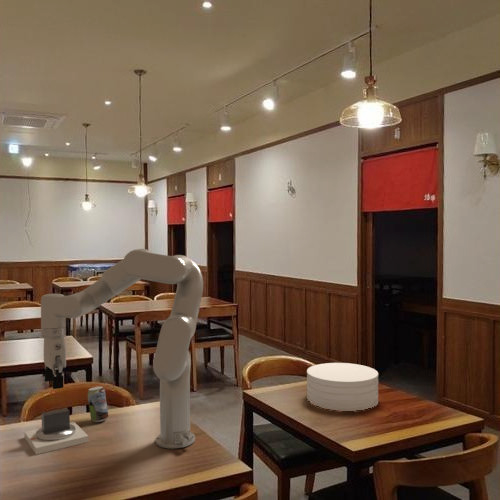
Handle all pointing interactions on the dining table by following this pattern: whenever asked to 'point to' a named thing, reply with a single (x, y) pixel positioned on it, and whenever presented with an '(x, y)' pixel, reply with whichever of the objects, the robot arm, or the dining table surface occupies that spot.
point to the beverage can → (97, 404)
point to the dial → (55, 425)
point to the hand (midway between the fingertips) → (53, 384)
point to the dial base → (47, 446)
